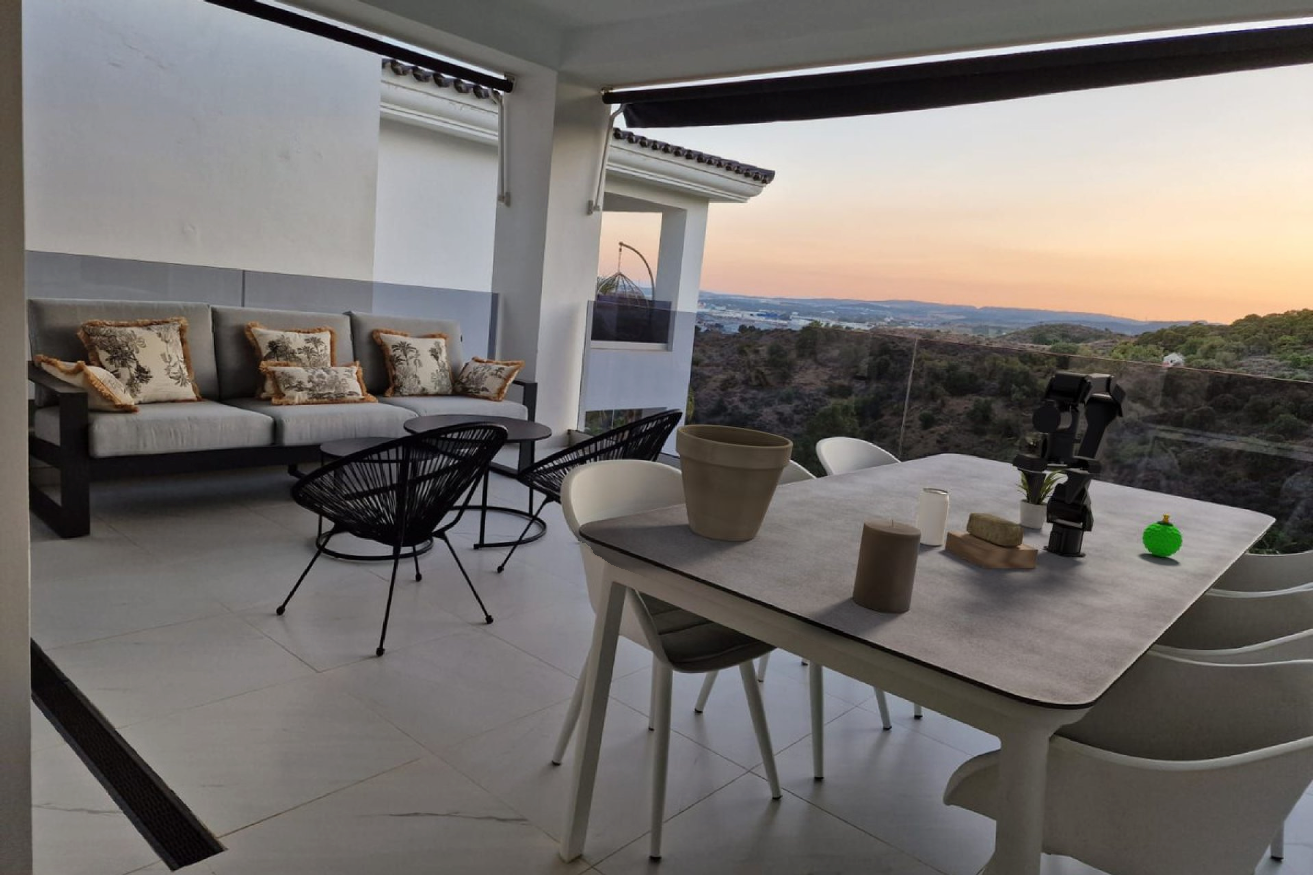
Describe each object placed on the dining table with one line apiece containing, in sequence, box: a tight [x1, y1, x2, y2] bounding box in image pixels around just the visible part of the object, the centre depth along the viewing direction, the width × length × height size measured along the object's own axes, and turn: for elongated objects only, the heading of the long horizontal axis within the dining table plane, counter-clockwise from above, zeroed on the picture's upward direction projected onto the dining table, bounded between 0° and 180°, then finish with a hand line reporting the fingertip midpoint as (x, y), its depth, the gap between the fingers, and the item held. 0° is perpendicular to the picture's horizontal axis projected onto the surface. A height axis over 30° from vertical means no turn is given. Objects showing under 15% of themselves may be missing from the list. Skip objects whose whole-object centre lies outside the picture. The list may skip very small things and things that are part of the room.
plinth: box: [944, 531, 1039, 569], centre depth 180 cm, size 13×13×4 cm
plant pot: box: [675, 424, 794, 542], centre depth 179 cm, size 25×25×22 cm
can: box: [914, 487, 950, 547], centre depth 188 cm, size 6×6×12 cm
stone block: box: [965, 512, 1025, 547], centre depth 179 cm, size 6×12×5 cm, turn 24°
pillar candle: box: [852, 518, 921, 614], centre depth 143 cm, size 10×10×15 cm
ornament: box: [1141, 513, 1184, 558], centre depth 195 cm, size 8×8×10 cm
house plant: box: [1014, 469, 1068, 530], centre depth 214 cm, size 14×14×16 cm
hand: (1050, 502), depth 180 cm, fingers open, 9 cm apart
